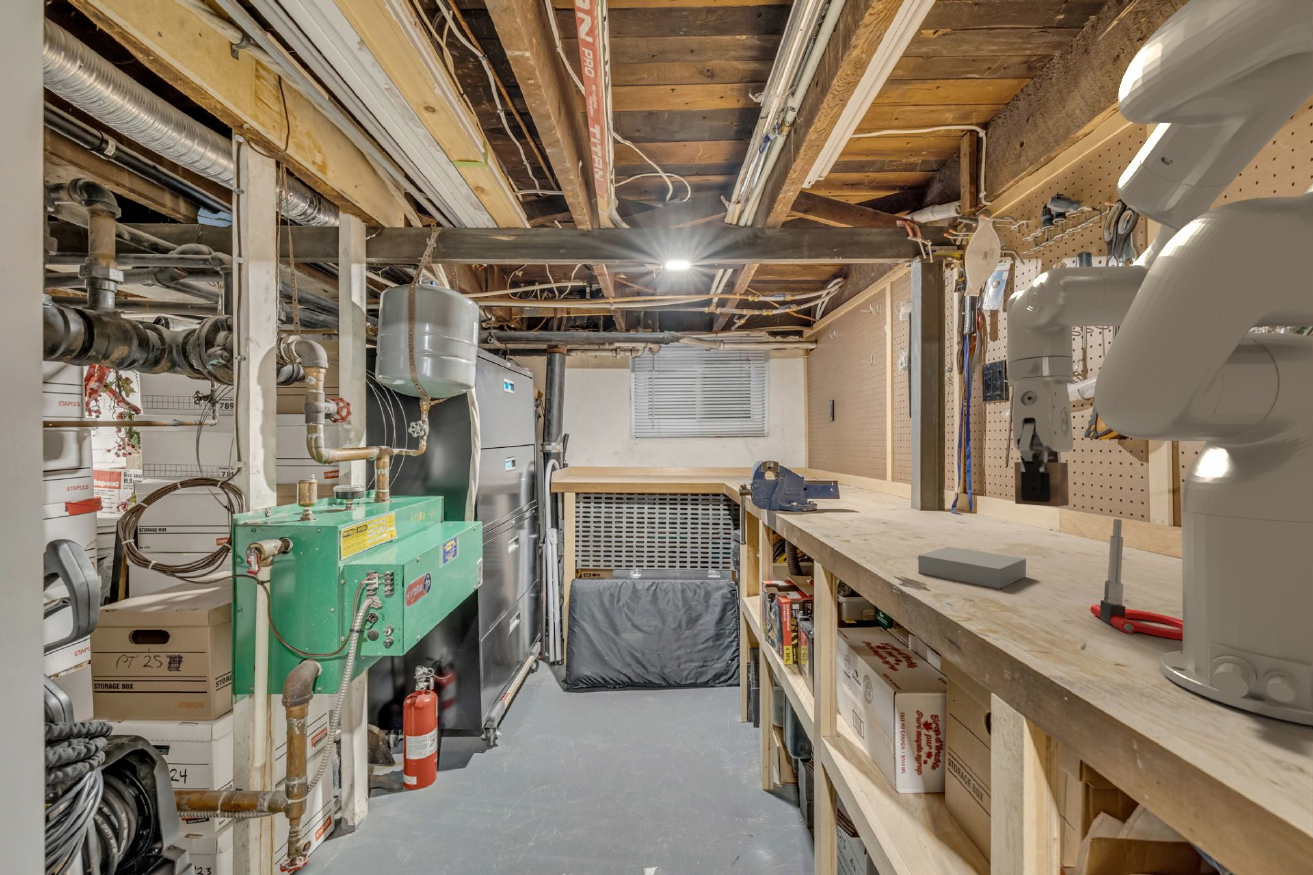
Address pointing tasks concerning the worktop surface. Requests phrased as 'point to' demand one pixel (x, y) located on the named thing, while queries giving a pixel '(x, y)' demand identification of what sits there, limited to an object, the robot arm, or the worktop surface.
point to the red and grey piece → (1112, 602)
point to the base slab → (972, 566)
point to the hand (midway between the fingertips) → (1042, 499)
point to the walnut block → (1057, 485)
